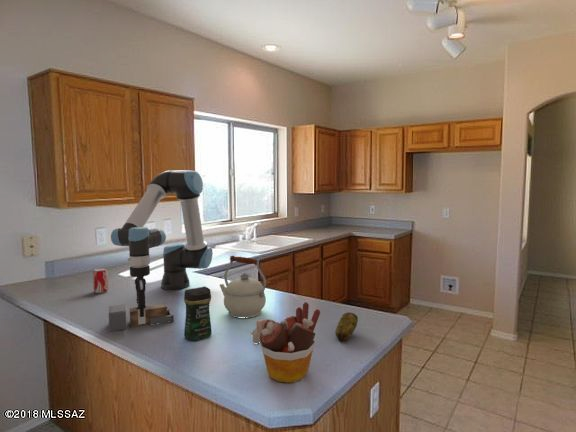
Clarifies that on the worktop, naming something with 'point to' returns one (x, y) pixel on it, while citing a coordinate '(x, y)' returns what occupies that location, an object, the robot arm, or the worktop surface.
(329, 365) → the worktop surface
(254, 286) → the kettle
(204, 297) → the coffee jar
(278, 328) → the bucket of meat
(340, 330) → the potato
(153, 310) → the walnut rail
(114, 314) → the roofed end cap
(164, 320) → the open end cap
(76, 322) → the worktop surface
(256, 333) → the architectural model
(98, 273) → the soda can
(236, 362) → the worktop surface
